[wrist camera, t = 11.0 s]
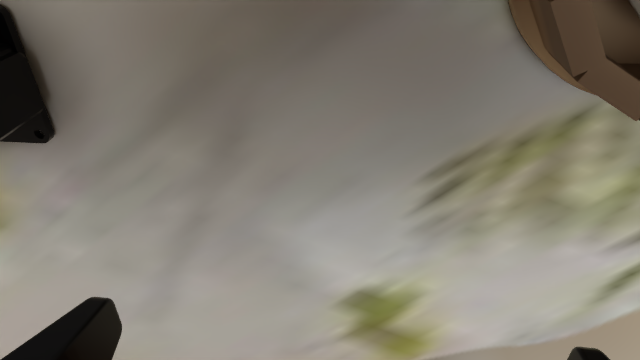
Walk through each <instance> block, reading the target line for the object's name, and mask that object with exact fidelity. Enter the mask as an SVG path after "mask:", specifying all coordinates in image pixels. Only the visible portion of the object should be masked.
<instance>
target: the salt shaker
mask: <svg viewBox="0 0 640 360" xmlns="http://www.w3.org/2000/svg"><path fill="white" fill-rule="evenodd" d="M629 2H630V3H631V5H632V7H633V8H634V10H635V12H636V13H637V15H638V17H639V18H640V0H629Z"/></svg>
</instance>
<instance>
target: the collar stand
mask: <svg viewBox="0 0 640 360" xmlns="http://www.w3.org/2000/svg"><path fill="white" fill-rule="evenodd" d="M508 2H509V6H510V10H511V13H512V16H513V18H514V21H515V23H516V25H517V27H518V30H519V32H520V33H521V35H522V36H523V38H524V39H525V41H526V43H527V44H528V46H529V47H530V48H531V49H532V50H533V51H534V52H535V54H536V55H537V56H538V57H539V58H540V59H541V60H542V61H543V62H544V63H545V65H546V66H547V67H548V68H549V69H550V70H551V71H553V72H554V73H555V74H556V75H558V76H559V77H560V78H562V79H563V80H564V81H566V82H568V83H570V84H571V85H573V86H575V87H577V88H579V89H581V90H584V91H586V92H589V93H592V94H594V95H597V96H599V97H600V98H602V99H603V100H605V101H606V102H608V103H609V104H611V105H612V106H614V107H615V108H617V109H618V110H620V111H621V112H623V113H624V114H626V115H627V116H629V117H630V118H632V119H633V120H635V121H637V120H638V119H639V120H640V18H639V17H638V15H637V13H636V12H635V10H634V8H633V7H632V5H631V3H630V2H629V0H508Z"/></svg>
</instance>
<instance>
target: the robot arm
mask: <svg viewBox="0 0 640 360" xmlns="http://www.w3.org/2000/svg"><path fill="white" fill-rule="evenodd" d="M40 130H41V131H42V132H43V133H44V134H42V133H41V132H40ZM53 137H54V130H53V127H52V125H51V122H50V119H49V117H48V114H47V111H46V109H45V106H44V103H43V101H42V98H41V95H40V93H39V90H38V87H37V84H36V82H35V79H34V76H33V74H32V71H31V68H30V66H29V63H28V60H27V58H26V55H25V52H24V50H23V47H22V44H21V42H20V39H19V36H18V34H17V31H16V28H15V25H14V23H13V20H12V17H11V15H10V13H9V12H8V11H7V10H6V8H4V7H3V6H1V5H0V141H4V142H26V143H47V142H48V141H49V140H50V139H52V138H53ZM121 332H122V324H121V321H120V318H119V315H118V312H117V310H116V307H115V304H114V302H113V301H112V300H111V299H109V298H102V297H91V298H89V299H87V300H85V301H84V302H82V303H81V304H80V305H78V306H77V307H75V308H74V309H72V310H71V311H70V312H68V313H67V314H65V315H64V316H62V317H61V318H60V319H58V320H57V321H55V322H54V323H52V324H51V325H50V326H48V327H47V328H45V329H44V330H42V331H41V332H40V333H38V334H37V335H35V336H34V337H32V338H31V339H30V340H28V341H27V342H25V343H24V344H22V345H21V346H19V347H18V348H17V349H15V350H14V351H12V352H11V353H9V354H8V355H7V356H5V357H4V358H2V359H1V360H112V358H113V355H114V352H115V350H116V347H117V344H118V342H119V339H120V336H121ZM567 360H610V359H609V358H608V357H607V356H606V355H605V354H604V353H603V352H601V351H600V350H598V349H595V348H586V347H575V348H574V349H573V350H572V351H571V353H570V355H569V357H568V359H567Z"/></svg>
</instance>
